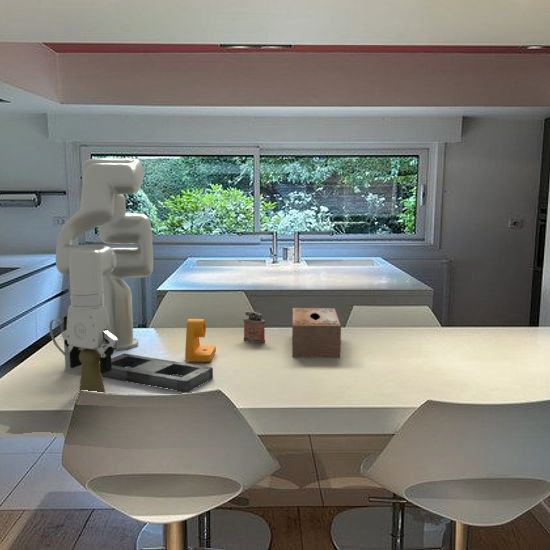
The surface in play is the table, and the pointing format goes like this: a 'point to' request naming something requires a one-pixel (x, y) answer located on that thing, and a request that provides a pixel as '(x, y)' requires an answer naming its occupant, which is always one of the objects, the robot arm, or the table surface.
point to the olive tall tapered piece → (91, 371)
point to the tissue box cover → (316, 333)
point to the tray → (158, 372)
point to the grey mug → (67, 354)
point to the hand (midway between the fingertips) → (90, 369)
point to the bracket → (197, 342)
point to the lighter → (254, 328)
